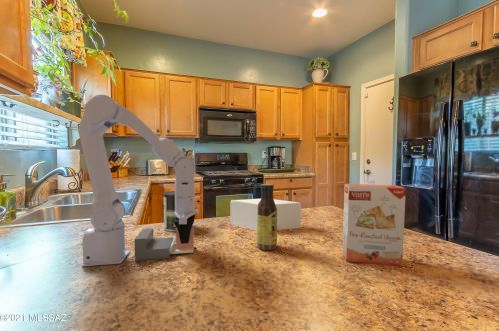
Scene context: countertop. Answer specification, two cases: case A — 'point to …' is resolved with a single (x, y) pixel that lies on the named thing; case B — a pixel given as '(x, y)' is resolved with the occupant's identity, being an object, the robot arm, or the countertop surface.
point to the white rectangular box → (247, 213)
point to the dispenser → (152, 246)
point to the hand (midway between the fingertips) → (185, 241)
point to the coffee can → (169, 211)
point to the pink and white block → (184, 247)
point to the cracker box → (374, 223)
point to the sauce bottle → (267, 219)
